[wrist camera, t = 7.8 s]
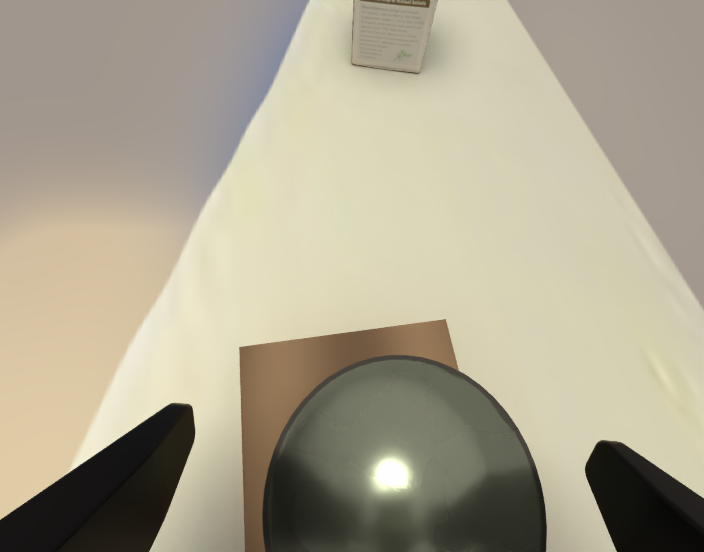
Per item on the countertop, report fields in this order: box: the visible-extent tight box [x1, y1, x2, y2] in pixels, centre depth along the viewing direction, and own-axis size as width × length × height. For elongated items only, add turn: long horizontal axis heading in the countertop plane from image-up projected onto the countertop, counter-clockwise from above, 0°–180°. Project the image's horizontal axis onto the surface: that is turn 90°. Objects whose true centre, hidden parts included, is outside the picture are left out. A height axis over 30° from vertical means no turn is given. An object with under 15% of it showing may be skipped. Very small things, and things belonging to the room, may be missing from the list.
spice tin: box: [262, 355, 547, 552], centre depth 10 cm, size 5×5×9 cm
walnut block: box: [239, 319, 459, 552], centre depth 16 cm, size 10×10×3 cm
